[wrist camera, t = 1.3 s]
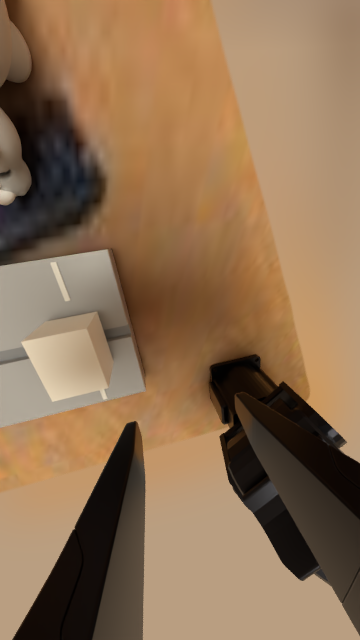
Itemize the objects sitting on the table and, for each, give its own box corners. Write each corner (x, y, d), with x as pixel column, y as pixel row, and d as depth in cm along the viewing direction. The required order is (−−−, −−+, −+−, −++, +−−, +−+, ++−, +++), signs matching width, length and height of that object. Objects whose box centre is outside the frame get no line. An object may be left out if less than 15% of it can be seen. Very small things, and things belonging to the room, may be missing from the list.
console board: (111, 248, 17) (107, 249, 15) (144, 375, 23) (145, 391, 20) (-158, 290, 15) (-219, 300, 12) (-48, 422, 20) (-75, 447, 18)
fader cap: (98, 308, 17) (86, 328, 13) (114, 357, 19) (108, 388, 15) (49, 318, 16) (20, 341, 12) (71, 367, 18) (52, 401, 14)
